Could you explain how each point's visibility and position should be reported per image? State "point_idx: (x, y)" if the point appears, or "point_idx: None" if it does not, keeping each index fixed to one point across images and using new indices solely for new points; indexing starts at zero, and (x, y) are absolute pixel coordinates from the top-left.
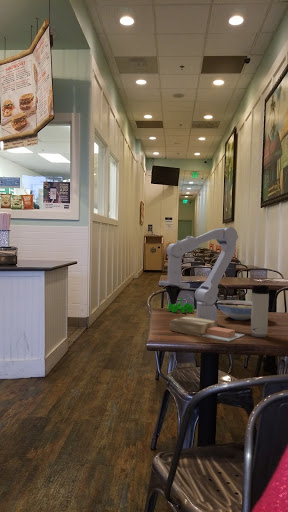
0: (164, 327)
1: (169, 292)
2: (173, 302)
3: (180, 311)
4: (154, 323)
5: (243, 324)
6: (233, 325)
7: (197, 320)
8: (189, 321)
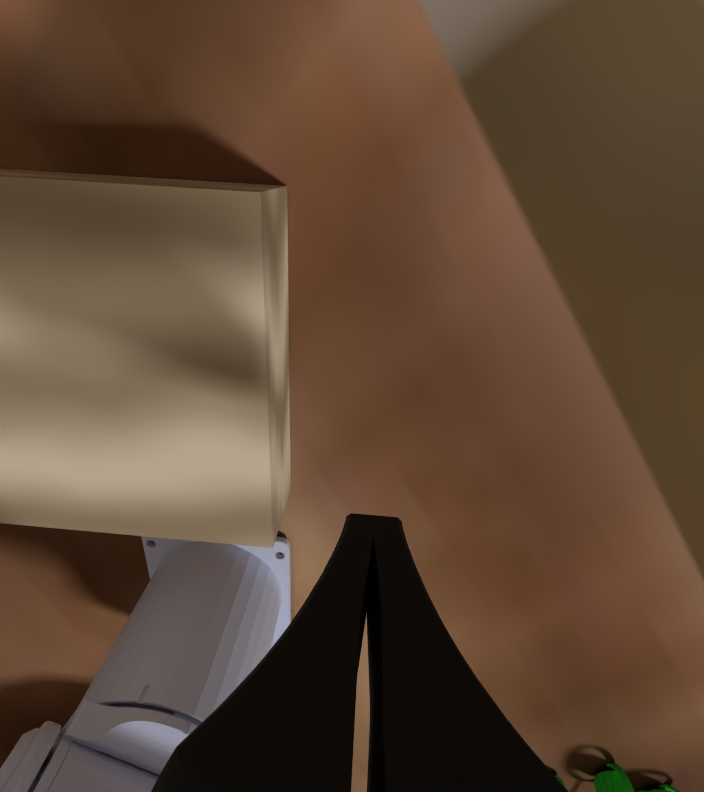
0: (402, 273)
1: (423, 689)
2: (342, 532)
3: (563, 785)
4: (580, 370)
5: (72, 698)
6: (85, 651)
7: (63, 417)
8: (65, 308)
